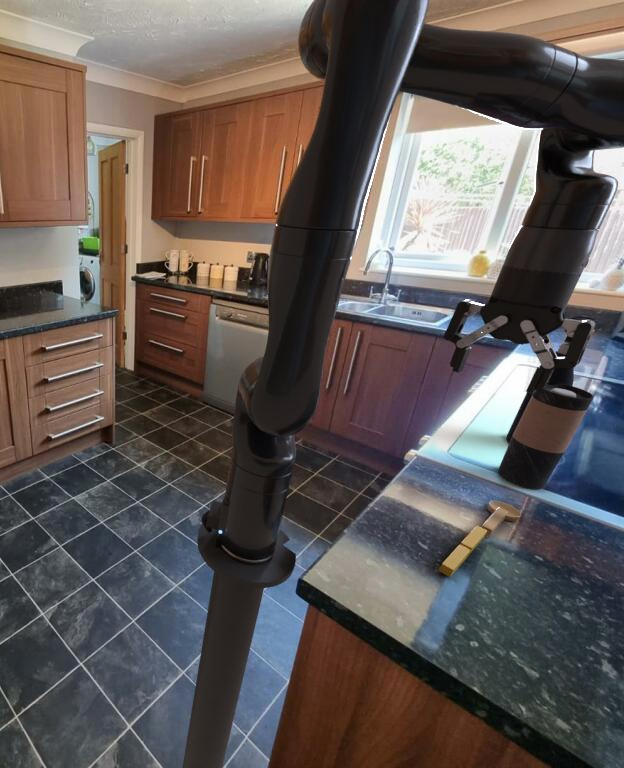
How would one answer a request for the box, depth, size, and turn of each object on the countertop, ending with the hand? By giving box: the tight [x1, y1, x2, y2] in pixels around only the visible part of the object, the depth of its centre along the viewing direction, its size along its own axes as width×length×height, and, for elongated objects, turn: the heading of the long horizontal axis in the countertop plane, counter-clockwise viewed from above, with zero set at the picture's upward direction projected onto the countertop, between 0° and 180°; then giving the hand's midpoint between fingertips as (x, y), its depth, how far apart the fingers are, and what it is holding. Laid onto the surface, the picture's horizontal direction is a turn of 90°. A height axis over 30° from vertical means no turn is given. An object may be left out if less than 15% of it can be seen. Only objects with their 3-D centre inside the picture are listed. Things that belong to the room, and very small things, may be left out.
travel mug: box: [497, 384, 594, 490], centre depth 82 cm, size 8×8×20 cm
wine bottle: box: [505, 315, 598, 443], centre depth 93 cm, size 6×6×30 cm
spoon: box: [480, 500, 522, 538], centre depth 74 cm, size 12×4×2 cm, turn 125°
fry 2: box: [460, 525, 487, 556], centre depth 69 cm, size 7×2×2 cm, turn 125°
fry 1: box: [438, 543, 471, 578], centre depth 65 cm, size 7×2×2 cm, turn 125°
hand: (492, 380), depth 61 cm, fingers open, 8 cm apart
